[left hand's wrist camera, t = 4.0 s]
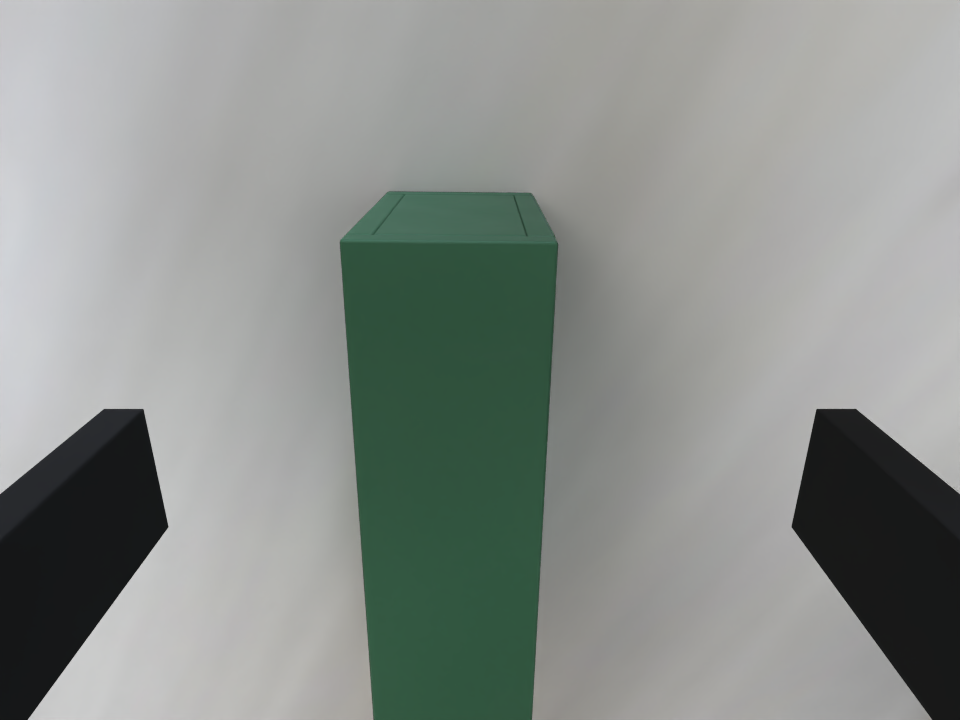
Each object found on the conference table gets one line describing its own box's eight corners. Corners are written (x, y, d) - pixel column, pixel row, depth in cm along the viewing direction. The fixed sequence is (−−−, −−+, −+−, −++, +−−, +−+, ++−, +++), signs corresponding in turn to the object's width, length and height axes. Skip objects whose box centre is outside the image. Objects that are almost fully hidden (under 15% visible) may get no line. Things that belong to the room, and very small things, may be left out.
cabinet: (517, 566, 33) (531, 738, 24) (403, 565, 33) (374, 737, 24) (532, 192, 26) (558, 241, 17) (387, 191, 26) (338, 239, 17)
